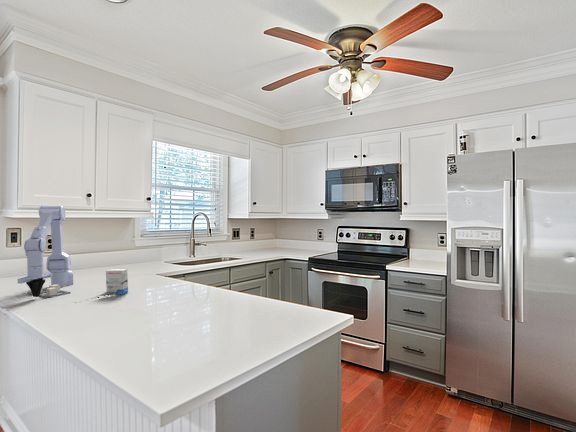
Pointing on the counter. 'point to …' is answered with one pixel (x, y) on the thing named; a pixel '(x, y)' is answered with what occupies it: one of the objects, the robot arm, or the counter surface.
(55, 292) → the off-white rectangular block
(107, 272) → the ink box
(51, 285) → the cream rectangular block
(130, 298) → the counter surface
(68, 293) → the grey divided tray
